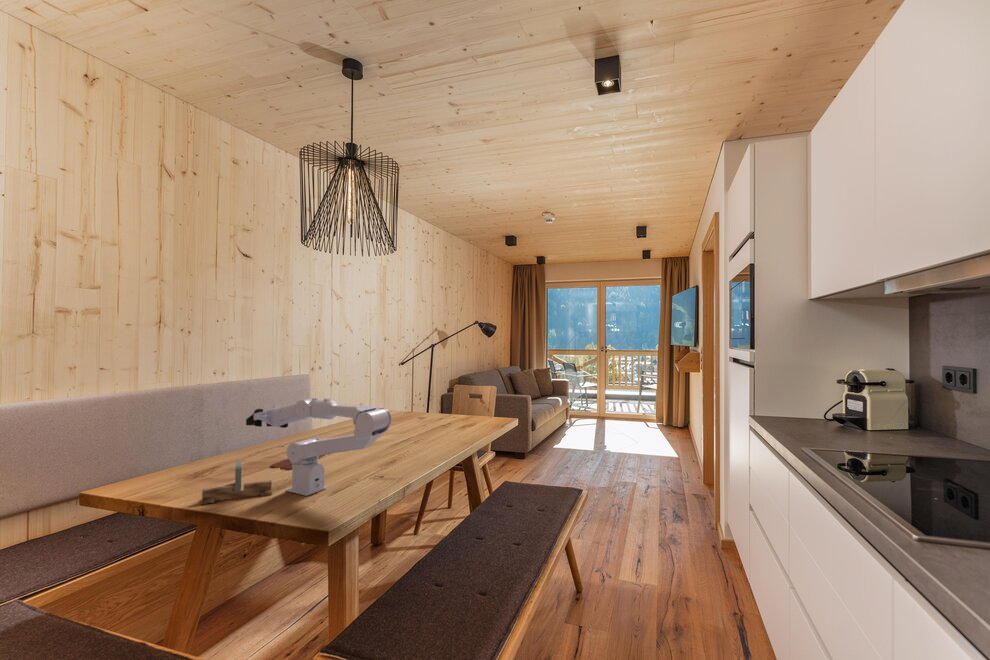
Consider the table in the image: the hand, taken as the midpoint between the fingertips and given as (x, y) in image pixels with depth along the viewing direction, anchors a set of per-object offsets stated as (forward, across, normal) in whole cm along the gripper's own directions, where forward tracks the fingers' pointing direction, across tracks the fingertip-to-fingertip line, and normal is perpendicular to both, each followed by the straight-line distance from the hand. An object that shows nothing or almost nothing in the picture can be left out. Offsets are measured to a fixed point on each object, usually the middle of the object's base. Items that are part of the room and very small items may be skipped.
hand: (257, 422), depth 151 cm
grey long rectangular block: (+6, +2, +19) cm, 20 cm away
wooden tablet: (+11, -30, +12) cm, 33 cm away
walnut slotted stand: (-2, +8, +23) cm, 25 cm away
